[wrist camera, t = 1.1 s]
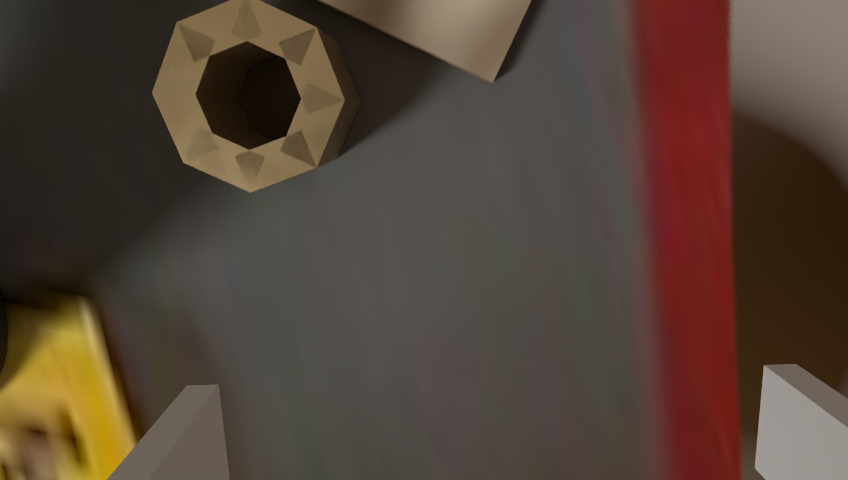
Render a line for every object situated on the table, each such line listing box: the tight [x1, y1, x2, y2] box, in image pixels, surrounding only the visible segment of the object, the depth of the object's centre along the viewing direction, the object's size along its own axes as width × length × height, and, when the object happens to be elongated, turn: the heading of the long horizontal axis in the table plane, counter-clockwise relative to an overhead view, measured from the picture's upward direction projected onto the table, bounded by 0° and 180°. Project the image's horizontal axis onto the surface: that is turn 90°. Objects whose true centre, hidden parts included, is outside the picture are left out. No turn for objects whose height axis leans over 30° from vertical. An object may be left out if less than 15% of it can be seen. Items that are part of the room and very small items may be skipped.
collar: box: [152, 0, 361, 193], centre depth 30 cm, size 8×8×6 cm
